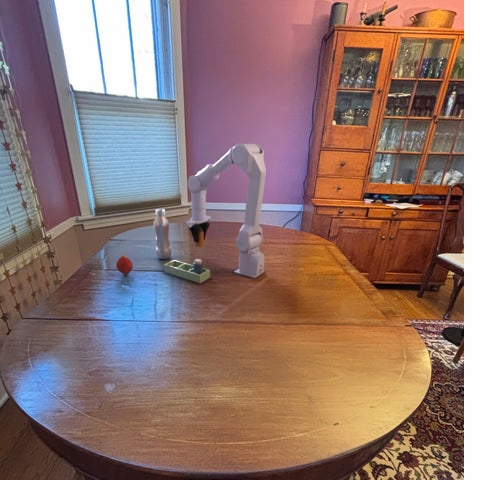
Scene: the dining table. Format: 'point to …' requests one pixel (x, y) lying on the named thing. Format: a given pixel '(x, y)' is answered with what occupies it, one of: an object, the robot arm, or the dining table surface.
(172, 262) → the bottle holder
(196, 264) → the slate spice bottle
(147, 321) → the dining table surface
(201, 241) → the amber spice bottle
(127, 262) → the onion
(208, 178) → the robot arm
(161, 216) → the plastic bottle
